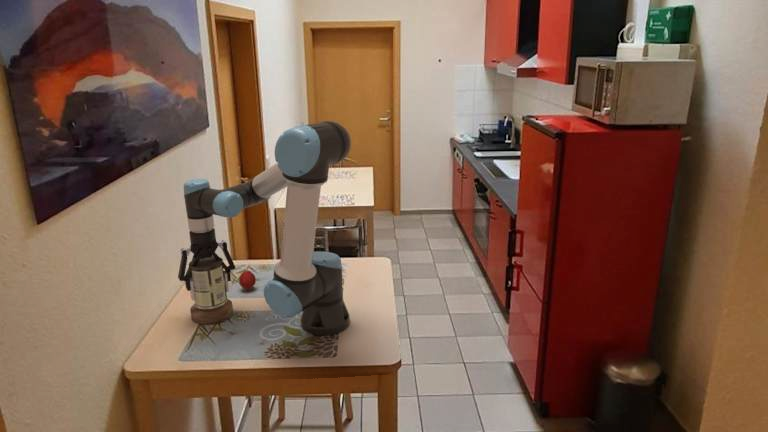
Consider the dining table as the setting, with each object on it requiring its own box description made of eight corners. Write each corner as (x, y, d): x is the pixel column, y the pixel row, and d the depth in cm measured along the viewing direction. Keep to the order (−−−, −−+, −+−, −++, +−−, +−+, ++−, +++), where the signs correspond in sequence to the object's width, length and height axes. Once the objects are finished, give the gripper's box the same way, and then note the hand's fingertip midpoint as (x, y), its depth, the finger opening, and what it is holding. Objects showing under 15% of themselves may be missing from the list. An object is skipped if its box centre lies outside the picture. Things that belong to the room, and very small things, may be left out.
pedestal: (238, 317, 171) (237, 308, 170) (197, 328, 164) (195, 319, 163) (226, 302, 181) (225, 294, 180) (187, 312, 175) (186, 303, 174)
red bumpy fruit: (242, 286, 193) (240, 265, 191) (258, 286, 193) (256, 265, 191) (238, 293, 188) (235, 272, 185) (254, 293, 188) (252, 272, 185)
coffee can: (202, 294, 177) (197, 255, 173) (232, 295, 176) (227, 256, 172) (188, 309, 167) (182, 267, 163) (220, 310, 166) (215, 268, 162)
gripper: (234, 219, 173) (240, 282, 179) (160, 232, 161) (170, 299, 168) (241, 225, 167) (248, 290, 173) (165, 239, 155) (176, 308, 162)
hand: (210, 294), depth 171 cm, fingers closed on coffee can, 10 cm apart
